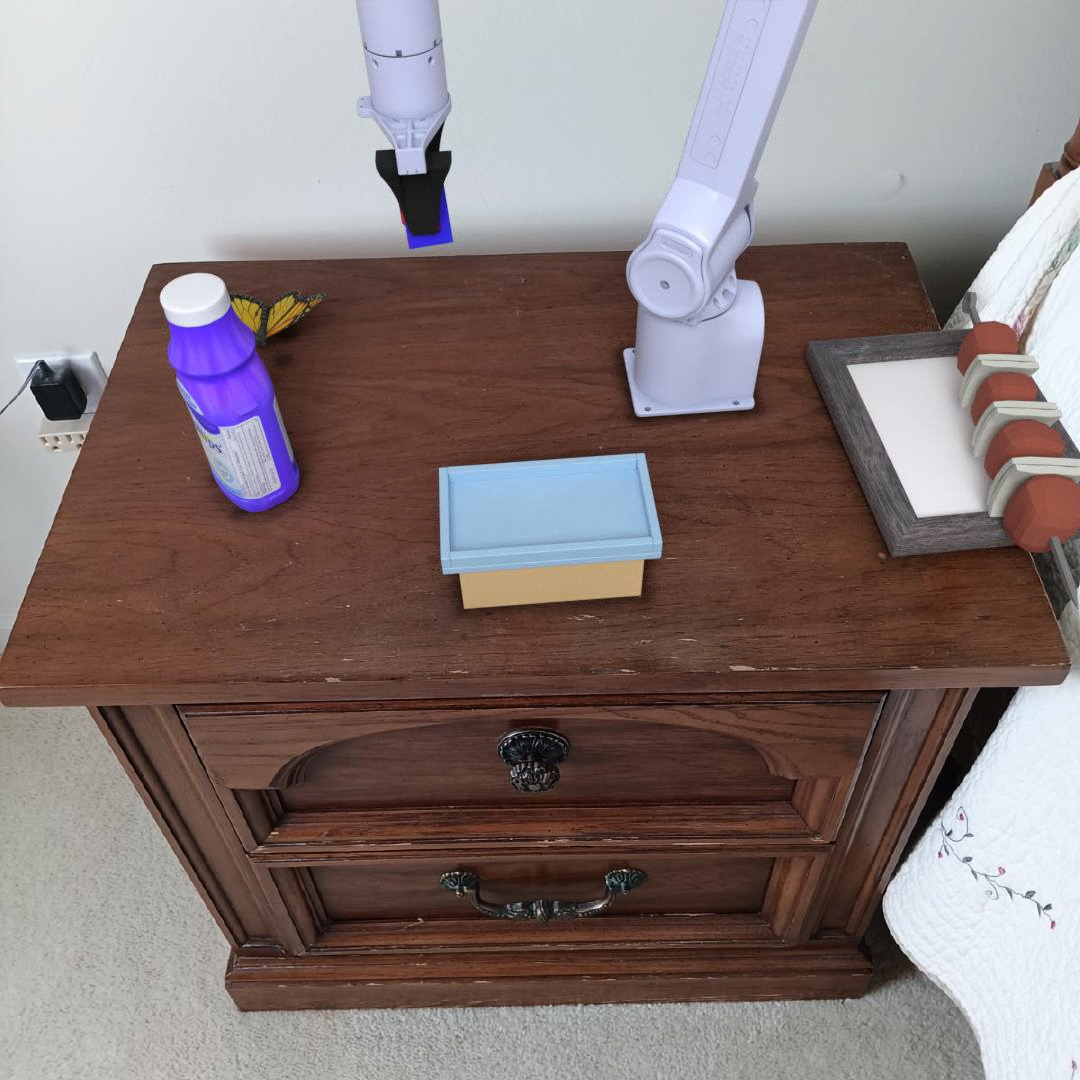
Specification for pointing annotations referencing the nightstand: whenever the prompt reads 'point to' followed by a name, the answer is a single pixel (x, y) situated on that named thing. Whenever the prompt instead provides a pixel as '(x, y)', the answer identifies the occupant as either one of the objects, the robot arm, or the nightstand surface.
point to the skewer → (1018, 442)
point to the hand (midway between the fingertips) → (424, 209)
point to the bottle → (228, 394)
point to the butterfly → (272, 313)
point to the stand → (548, 529)
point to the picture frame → (913, 438)
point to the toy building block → (442, 234)
